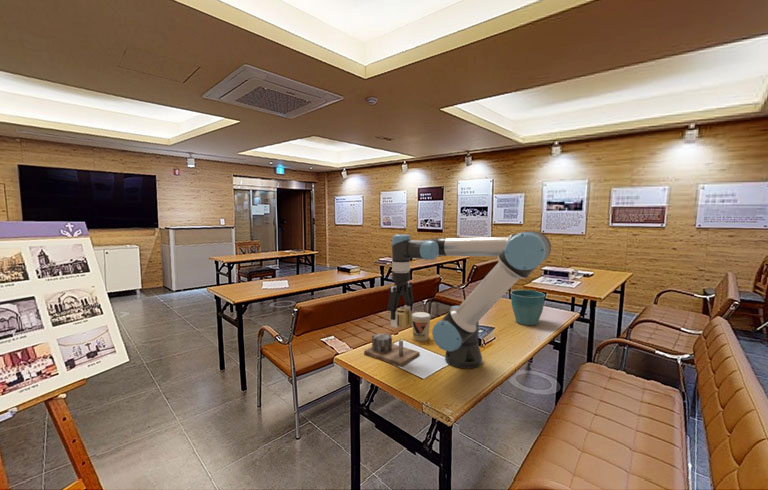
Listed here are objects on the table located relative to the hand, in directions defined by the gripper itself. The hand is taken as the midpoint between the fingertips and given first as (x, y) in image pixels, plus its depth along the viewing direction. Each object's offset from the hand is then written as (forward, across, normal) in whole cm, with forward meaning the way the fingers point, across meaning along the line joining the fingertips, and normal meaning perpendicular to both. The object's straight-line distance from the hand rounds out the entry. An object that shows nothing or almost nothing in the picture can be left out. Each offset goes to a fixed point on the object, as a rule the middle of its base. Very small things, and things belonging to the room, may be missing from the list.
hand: (401, 323), depth 140 cm
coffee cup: (+16, -26, -5) cm, 31 cm away
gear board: (+16, -1, -6) cm, 17 cm away
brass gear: (0, 0, 0) cm, 0 cm away
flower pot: (+16, -82, +32) cm, 90 cm away
